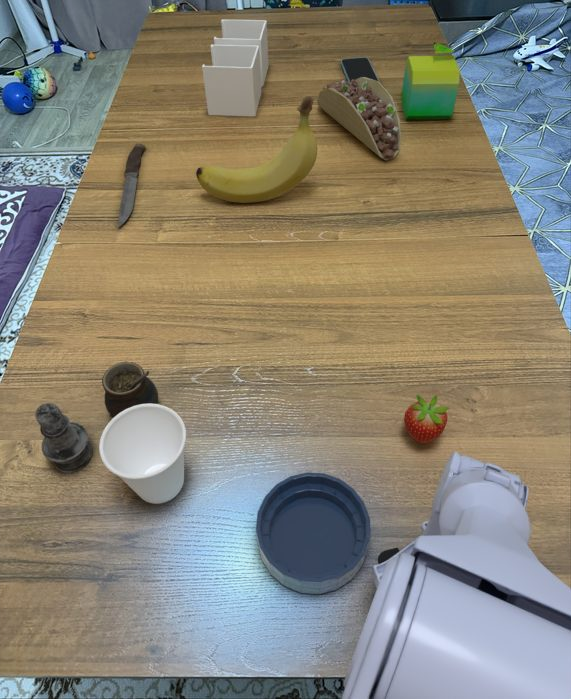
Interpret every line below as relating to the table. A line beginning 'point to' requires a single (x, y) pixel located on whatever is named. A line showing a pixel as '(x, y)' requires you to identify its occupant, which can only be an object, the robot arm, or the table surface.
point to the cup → (146, 450)
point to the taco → (365, 113)
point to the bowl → (313, 532)
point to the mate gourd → (127, 387)
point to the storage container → (237, 68)
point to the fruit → (425, 419)
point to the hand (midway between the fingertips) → (429, 586)
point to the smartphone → (358, 68)
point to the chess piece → (63, 439)
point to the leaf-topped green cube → (430, 85)
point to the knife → (130, 182)
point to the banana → (267, 168)
